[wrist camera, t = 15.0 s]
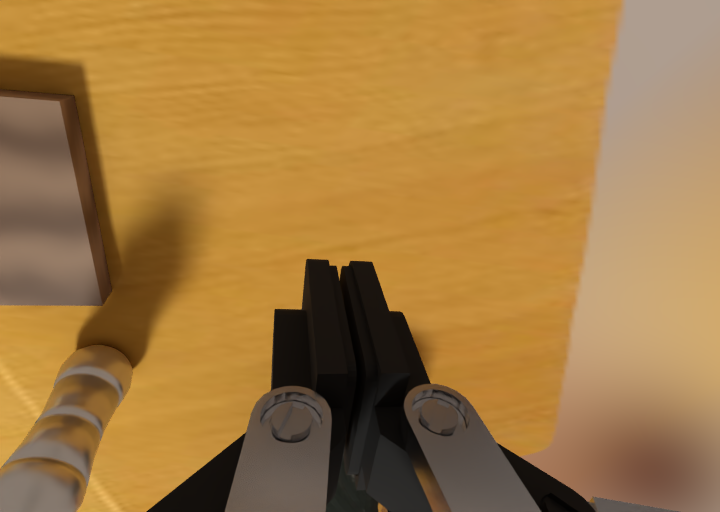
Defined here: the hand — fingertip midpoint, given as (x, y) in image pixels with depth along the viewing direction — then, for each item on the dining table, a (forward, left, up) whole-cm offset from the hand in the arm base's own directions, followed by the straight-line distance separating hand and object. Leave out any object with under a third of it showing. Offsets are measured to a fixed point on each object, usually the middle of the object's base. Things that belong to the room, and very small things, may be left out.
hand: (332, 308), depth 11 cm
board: (+10, -22, -29) cm, 38 cm away
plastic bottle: (+28, -19, -29) cm, 45 cm away
